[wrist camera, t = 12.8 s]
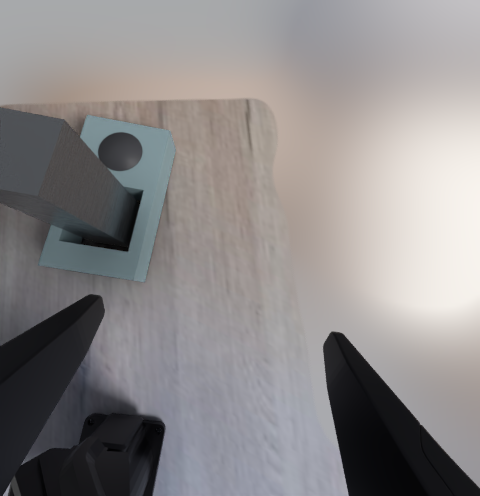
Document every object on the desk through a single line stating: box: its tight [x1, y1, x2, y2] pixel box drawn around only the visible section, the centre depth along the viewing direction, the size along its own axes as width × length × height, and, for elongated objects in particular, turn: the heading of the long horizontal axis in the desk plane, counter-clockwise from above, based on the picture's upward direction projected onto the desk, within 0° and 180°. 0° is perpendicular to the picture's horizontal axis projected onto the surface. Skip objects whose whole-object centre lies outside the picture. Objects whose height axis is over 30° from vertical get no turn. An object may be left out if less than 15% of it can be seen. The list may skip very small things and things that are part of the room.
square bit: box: [0, 108, 140, 248], centre depth 17 cm, size 4×4×12 cm
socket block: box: [38, 115, 176, 282], centre depth 22 cm, size 14×8×3 cm, turn 171°
